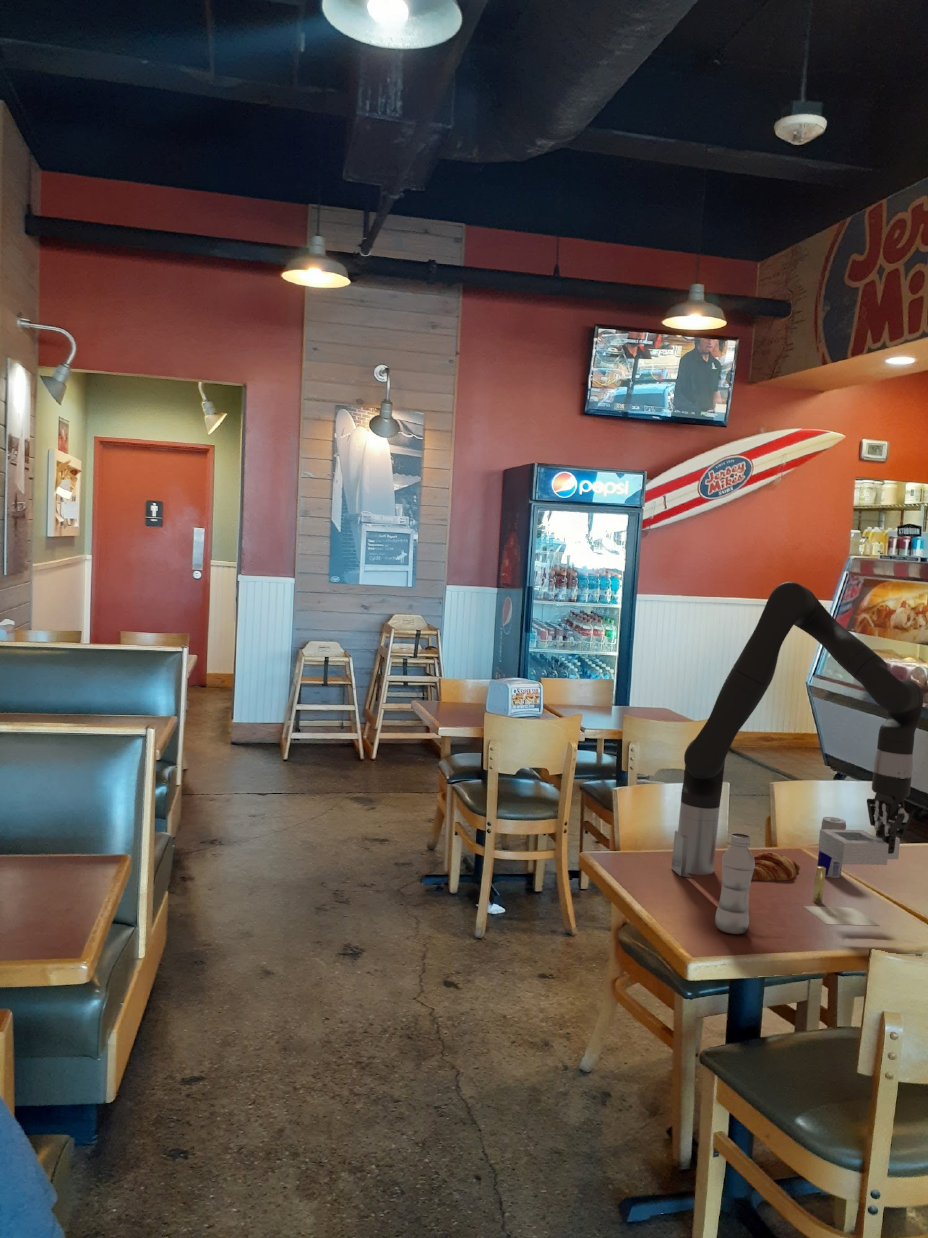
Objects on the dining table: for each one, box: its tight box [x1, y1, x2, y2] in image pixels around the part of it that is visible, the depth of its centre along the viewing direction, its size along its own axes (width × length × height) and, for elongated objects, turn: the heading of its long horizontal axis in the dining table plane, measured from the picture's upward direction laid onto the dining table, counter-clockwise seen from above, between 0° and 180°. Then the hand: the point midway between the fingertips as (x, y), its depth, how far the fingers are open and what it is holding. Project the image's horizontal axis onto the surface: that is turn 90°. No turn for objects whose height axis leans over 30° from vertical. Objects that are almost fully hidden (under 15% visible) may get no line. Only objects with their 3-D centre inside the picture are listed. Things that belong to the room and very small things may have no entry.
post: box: [812, 865, 826, 905], centre depth 208 cm, size 2×2×8 cm
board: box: [802, 905, 880, 927], centre depth 205 cm, size 16×19×1 cm
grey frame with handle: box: [817, 828, 901, 866], centre depth 201 cm, size 15×10×4 cm, turn 97°
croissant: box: [751, 851, 801, 881], centre depth 228 cm, size 21×10×8 cm, turn 128°
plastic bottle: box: [714, 832, 755, 935], centre depth 189 cm, size 6×7×20 cm
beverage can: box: [816, 816, 847, 879], centre depth 230 cm, size 6×6×15 cm
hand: (884, 850), depth 201 cm, fingers closed on grey frame with handle, 2 cm apart
